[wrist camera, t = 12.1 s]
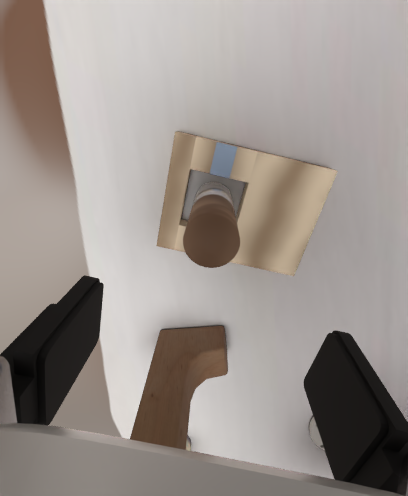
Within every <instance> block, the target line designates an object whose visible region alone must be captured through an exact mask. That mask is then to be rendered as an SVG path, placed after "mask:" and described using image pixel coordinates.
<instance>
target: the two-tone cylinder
mask: <svg viewBox="0 0 408 496" xmlns="http://www.w3.org/2000/svg"><path fill="white" fill-rule="evenodd" d="M183 246H184V250H185V252H186V254H187V255H188V257H189V258H190V259H191V260H192V261H193V262H195V263H196V264H198V265H201V266H204V267H209V268H214V267H220V266H223V265H225V264H227V263H229V262H230V261H231V260H232V259H233V258H234V257H235V256H236V254H237V253H238V250H239V247H240V236H239V231H238V226H237V221H236V216H235V211H234V207H233V202H232V197H231V193H230V191H229V189H228V188H227V187H226V186H225V185H223V184H222V183H219V182H208V183H205V184H204V185H202V186H201V187H200V188H199V189H198V191H197V193H196V196H195V200H194V203H193V206H192V209H191V213H190V216H189V219H188V222H187V226H186V229H185V232H184V236H183Z"/></svg>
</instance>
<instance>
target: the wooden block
mask: <svg viewBox="0 0 408 496" xmlns="http://www.w3.org/2000/svg"><path fill="white" fill-rule="evenodd" d="M227 372H228V362H227V346H226V337H225V329H224V327H223V326H211V327H197V328H182V329H168V330H161V331H160V333H159V337H158V340H157V344H156V347H155V351H154V355H153V358H152V362H151V365H150V369H149V373H148V376H147V380H146V383H145V387H144V391H143V394H142V398H141V401H140V405H139V409H138V412H137V416H136V419H135V423H134V426H133V430H132V434H131V437H130V439H131V440H136V441H141V442H146V443H151V444H157V445H162V446H167V447H172V448H178V449H183V450H186V443H187V432H188V422H189V412H190V401H191V399H192V396H193V393H194V391H195V389H196V388H197V387H198V386H199V385H200V384H201V383H202V382H204V381H205V380H206V379H208V378H213V377H218V376H223V375H226V374H227Z"/></svg>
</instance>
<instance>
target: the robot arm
mask: <svg viewBox="0 0 408 496" xmlns="http://www.w3.org/2000/svg"><path fill="white" fill-rule="evenodd" d="M102 298H103V283H100V281H99V279H98V278H94V277H89V276H83V277H82V278H81V279H80V280H79V281H78V282H77V283H76V284H75V285H74V286H73V287H72V288H71V289H70V290H69V292H68V293H67V294H66V295H65V296H64V297H63V298H62V299H61V300H60V301H59V302H58V303H57V304H50V305H49V306H48V307H47V308H46V309H45V310H44V311H43V312H42V313H41V314H40V315H39V316H38V317H37V318H36V319H35V320H34V321H33V322H32V323H31V324H30V325H29V326H28V327H27V328H26V329H25V330H24V331H23V332H22V333H21V334H20V335H19V336H18V337H17V338H16V339H15V340H14V341H13V342H12V343H11V344H10V345H9V346H8V347H7V348H6V349H5V350H4V351H3V352H2V353H1V354H0V496H408V422H407V421H406V419H405V417H404V416H403V414H402V413H401V411H400V410H399V408H398V407H397V405H396V404H395V402H394V400H393V399H392V397H391V396H390V394H389V393H388V391H387V390H386V388H385V387H384V385H383V383H382V382H381V380H380V379H379V377H378V376H377V374H376V373H375V371H374V370H373V368H372V366H371V365H370V363H369V362H368V360H367V359H366V357H365V356H364V354H363V353H362V351H361V349H360V348H359V346H358V345H357V343H356V342H355V340H354V339H353V337H352V336H351V335H350V334H349V333H345V332H340V331H333V332H332V333H329V334H328V335H327V337H326V338H325V340H324V342H323V344H322V346H321V348H320V350H319V352H318V354H317V356H316V358H315V360H314V361H313V363H312V365H311V367H310V369H309V371H308V373H307V375H306V377H305V379H304V388H305V391H306V395H307V398H308V401H309V404H310V407H311V410H312V413H313V416H314V417H313V418H312V419H311V422H310V424H309V431H310V435H311V438H312V441H313V442H314V443H315V445H316V446H318V447H319V448H320V449H322V450H324V451H325V452H326V455H327V458H328V461H329V464H330V467H331V470H332V473H333V476H334V478H335V480H333V479H328V478H324V477H319V476H314V475H309V474H304V473H299V472H294V471H289V470H284V469H279V468H274V467H269V466H264V465H259V464H254V463H249V462H244V461H239V460H234V459H229V458H224V457H219V456H214V455H209V454H203V453H198V452H193V451H188V450H183V449H178V448H172V447H167V446H162V445H157V444H151V443H146V442H141V441H136V440H131V439H125V438H120V437H115V436H109V435H103V434H98V433H92V432H86V431H80V430H75V429H69V428H63V427H56V426H48V425H49V424H50V422H51V421H52V419H53V418H54V416H55V414H56V412H57V411H58V409H59V407H60V406H61V404H62V402H63V400H64V398H65V397H66V395H67V393H68V392H69V390H70V389H71V387H72V385H73V383H74V382H75V380H76V378H77V377H78V375H79V373H80V371H81V370H82V368H83V366H84V364H85V362H86V361H87V359H88V357H89V356H90V354H91V352H92V351H93V349H94V347H95V346H96V343H97V341H98V339H99V333H100V322H101V310H102Z"/></svg>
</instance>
